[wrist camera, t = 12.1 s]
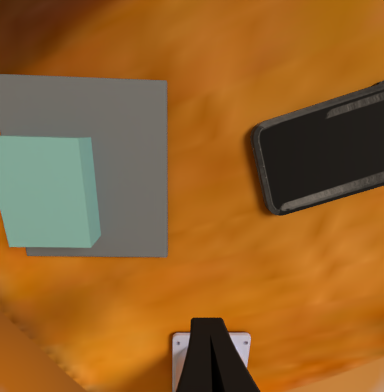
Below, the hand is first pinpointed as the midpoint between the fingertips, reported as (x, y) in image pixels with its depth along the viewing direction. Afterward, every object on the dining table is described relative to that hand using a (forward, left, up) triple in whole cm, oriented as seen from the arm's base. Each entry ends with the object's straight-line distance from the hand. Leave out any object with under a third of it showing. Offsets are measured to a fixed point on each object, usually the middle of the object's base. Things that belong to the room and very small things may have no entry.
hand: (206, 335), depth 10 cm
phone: (+8, -12, -10) cm, 18 cm away
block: (+4, +8, -8) cm, 12 cm away
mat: (+5, +9, -10) cm, 14 cm away
